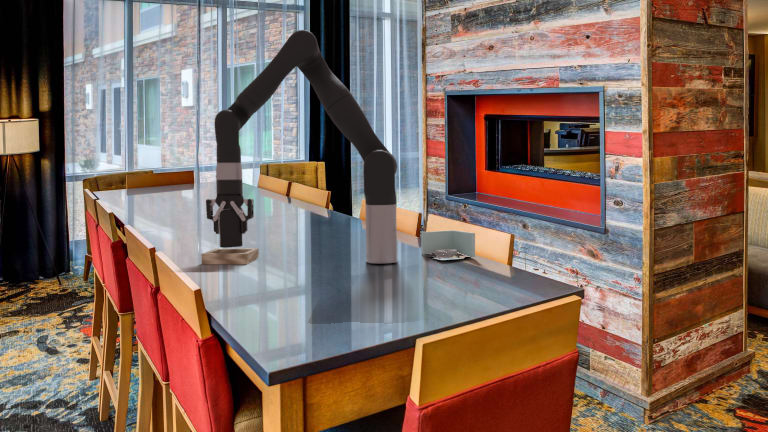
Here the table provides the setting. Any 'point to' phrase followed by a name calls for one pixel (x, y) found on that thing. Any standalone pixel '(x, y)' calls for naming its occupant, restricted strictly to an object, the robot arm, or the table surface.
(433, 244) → the l-shaped corner panel
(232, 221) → the battery charger
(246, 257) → the beige square frame
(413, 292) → the table surface
